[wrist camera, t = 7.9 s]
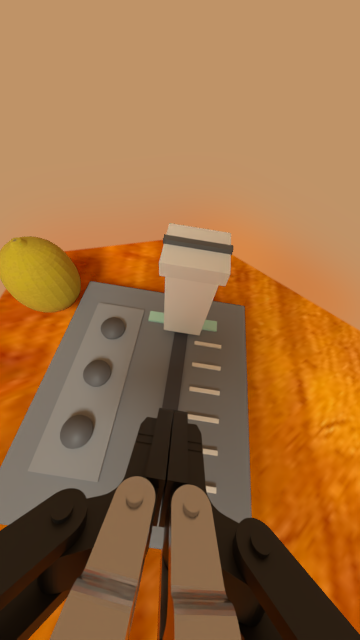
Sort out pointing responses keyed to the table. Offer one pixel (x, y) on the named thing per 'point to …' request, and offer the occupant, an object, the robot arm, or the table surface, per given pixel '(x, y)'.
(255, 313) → the table surface
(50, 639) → the robot arm
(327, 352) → the table surface
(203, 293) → the fader knob
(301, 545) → the table surface
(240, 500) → the console
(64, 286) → the lemon
